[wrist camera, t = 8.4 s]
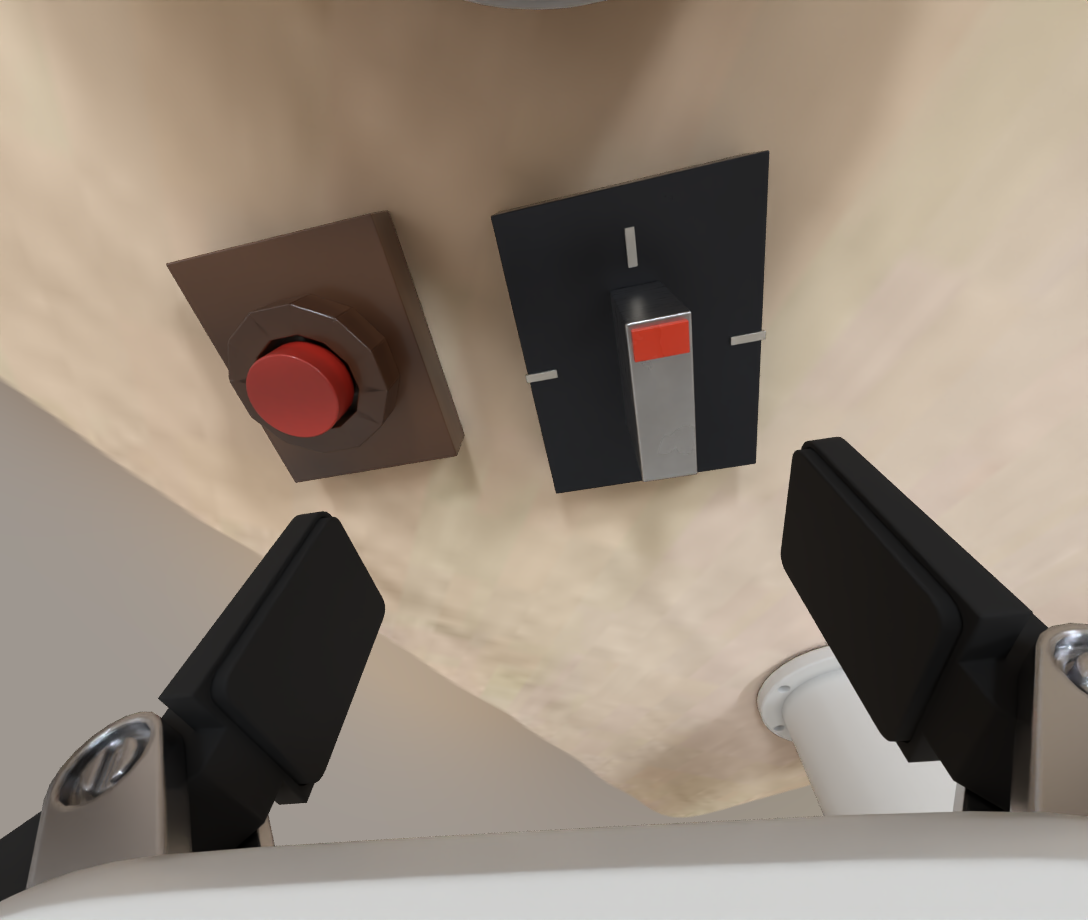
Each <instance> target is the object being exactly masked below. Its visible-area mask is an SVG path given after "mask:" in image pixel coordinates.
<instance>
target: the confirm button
mask: <svg viewBox="0 0 1088 920" xmlns="http://www.w3.org/2000/svg"><path fill="white" fill-rule="evenodd" d="M246 390H247V394H248V397H249V400H250V402H251V404H252V406H253V407H254V409H255V410H256V412H257V413H258V414H259V415H260V417H261V418H262V419H263V420H264V421H266V422H267V423H268V424H269V425H271V426H272V427H274V428H275V429H277V430H279V431H281V432H283V433H285V434H288V435H292V436H296V437H315V436H319V435H321V434H324V433H325V432H327V431H328V430H330V429H331V428H332V427H333V426H334V425H335V424H336V422H337V421H338V420H339V419H340V418H341V417H342V416H343V415H344V414H345V413H346V412H347V410H348V409H349V408H350V406H351V404H352V402H353V398H354V384H353V380H352V377H351V375H350V373H349V371H348V369H347V368H346V366H345V365H344V363H343V362H342V361H341V360H340V359H339V358H338V357H337V356H336V355H335V354H333V353H332V352H331V351H329V350H328V349H326V348H324V347H322V346H320V345H317V344H314V343H310V342H304V341H294V342H289V343H286V344H284V345H282V346H280V347H278V348H277V349H275V350H273V351H271V352H270V353H268V354H266V355H265V356H263V357H261V358H260V359H258V360H257V361H256V362H255V363H254V364H253V365H252V366H251V368H250V369H249V372H248V374H247V378H246Z"/></svg>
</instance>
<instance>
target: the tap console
mask: <svg viewBox="0 0 1088 920" xmlns="http://www.w3.org/2000/svg"><path fill="white" fill-rule="evenodd" d="M768 171H769V151H768V150H767V151H760V152H753V153H747V154H741V155H737V156H733V157H729V158H724V159H720V160H716V161H712V162H708V163H703V164H699V165H695V166H691V167H687V168H682V169H678V170H674V171H670V172H665V173H661V174H657V175H653V176H649V177H644V178H640V179H636V180H632V181H627V182H623V183H619V184H615V185H611V186H606V187H602V188H598V189H594V190H589V191H585V192H581V193H577V194H573V195H568V196H564V197H560V198H556V199H551V200H547V201H543V202H539V203H535V204H530V205H526V206H522V207H518V208H513V209H509V210H505V211H501V212H498V213H496V214H494V215H492V216H491V220H492V224H493V228H494V232H495V237H496V241H497V245H498V249H499V254H500V258H501V262H502V266H503V271H504V275H505V279H506V283H507V288H508V292H509V296H510V300H511V305H512V309H513V313H514V317H515V321H516V326H517V330H518V334H519V338H520V343H521V347H522V351H523V355H524V360H525V364H526V368H527V372H528V374H526V380H527V383H530V385H531V389H532V393H533V398H534V402H535V406H536V410H537V415H538V419H539V423H540V427H541V432H542V436H543V440H544V444H545V449H546V453H547V457H548V461H549V465H550V470H551V474H552V478H553V482H554V487H555V491H556V493H564V492H570V491H577V490H584V489H590V488H597V487H603V486H610V485H617V484H623V483H630V482H637V481H643V480H642V477H641V473H640V470H639V466H638V463H637V459H636V455H635V452H634V448H633V445H632V441H631V438H630V434H629V430H628V427H627V423H626V417H625V409H624V401H623V393H622V385H621V377H620V369H619V361H618V353H617V345H616V337H615V329H614V321H613V313H612V306H611V298H610V291H612V290H617V289H621V288H626V287H631V286H636V285H641V284H646V283H650V282H655V281H660V282H661V283H662V284H663V285H664V286H665V287H666V288H667V289H668V290H669V291H670V292H671V293H672V294H673V295H674V296H675V297H676V298H677V299H678V300H680V301H681V302H682V303H683V304H684V305H685V306H686V307H687V308H688V309H689V310H690V311H691V320H692V347H693V375H694V402H695V429H696V456H697V472H703V471H710V470H716V469H723V468H729V467H736V466H743V465H749V464H755V463H756V447H757V424H758V401H759V378H760V355H761V340H764V339H766V331H765V330H762V309H763V286H764V263H765V240H766V217H767V194H768Z"/></svg>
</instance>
